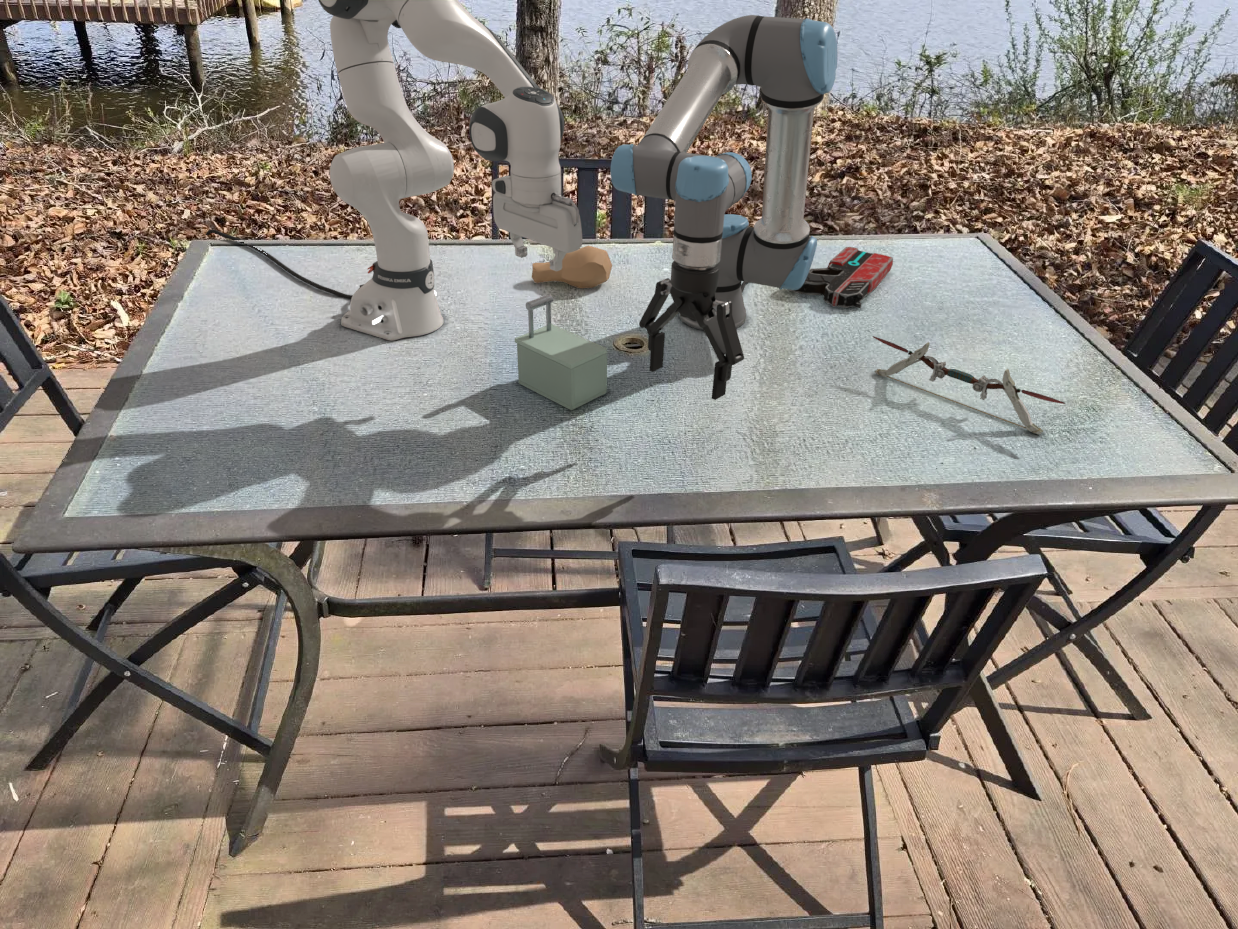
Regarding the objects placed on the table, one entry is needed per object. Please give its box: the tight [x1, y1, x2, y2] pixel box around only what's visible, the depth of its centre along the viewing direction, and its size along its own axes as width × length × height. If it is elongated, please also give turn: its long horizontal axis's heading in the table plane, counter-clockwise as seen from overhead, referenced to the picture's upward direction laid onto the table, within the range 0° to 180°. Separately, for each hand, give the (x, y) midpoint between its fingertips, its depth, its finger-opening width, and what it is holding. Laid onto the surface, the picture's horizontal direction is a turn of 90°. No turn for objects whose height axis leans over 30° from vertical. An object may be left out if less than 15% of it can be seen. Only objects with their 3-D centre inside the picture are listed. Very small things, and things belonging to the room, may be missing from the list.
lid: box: [514, 293, 608, 369], centre depth 166 cm, size 16×10×8 cm, turn 47°
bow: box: [872, 335, 1066, 435], centre depth 169 cm, size 39×2×10 cm, turn 47°
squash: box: [531, 245, 613, 289], centre depth 215 cm, size 11×20×9 cm, turn 90°
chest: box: [516, 343, 608, 411], centre depth 170 cm, size 15×10×9 cm, turn 47°
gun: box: [786, 246, 894, 309], centre depth 220 cm, size 4×31×19 cm
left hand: (538, 262), depth 163 cm, fingers open, 8 cm apart
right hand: (686, 382), depth 148 cm, fingers open, 13 cm apart
